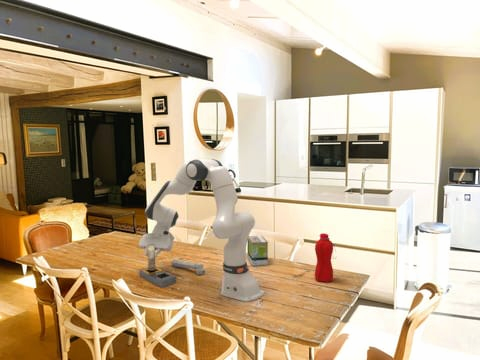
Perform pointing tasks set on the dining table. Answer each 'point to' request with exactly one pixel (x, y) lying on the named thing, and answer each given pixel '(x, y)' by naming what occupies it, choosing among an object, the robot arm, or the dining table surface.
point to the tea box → (257, 250)
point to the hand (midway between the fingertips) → (150, 255)
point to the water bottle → (324, 259)
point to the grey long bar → (189, 266)
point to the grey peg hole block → (158, 277)
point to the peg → (151, 257)
